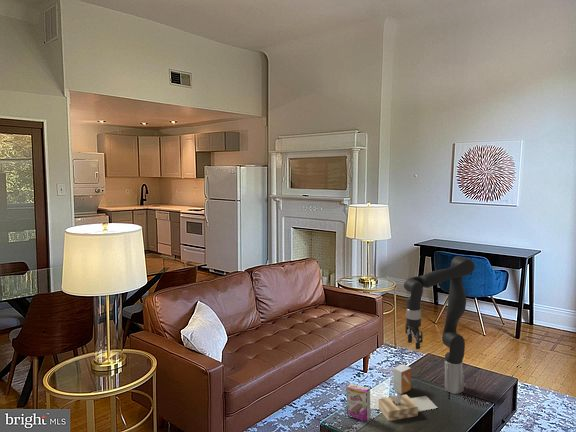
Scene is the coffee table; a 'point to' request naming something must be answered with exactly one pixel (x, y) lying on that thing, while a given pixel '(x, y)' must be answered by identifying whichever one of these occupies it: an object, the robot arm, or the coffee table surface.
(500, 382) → the coffee table surface
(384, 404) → the hole block
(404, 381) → the small box
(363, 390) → the candy bar box
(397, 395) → the peg
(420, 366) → the coffee table surface
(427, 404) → the mat
